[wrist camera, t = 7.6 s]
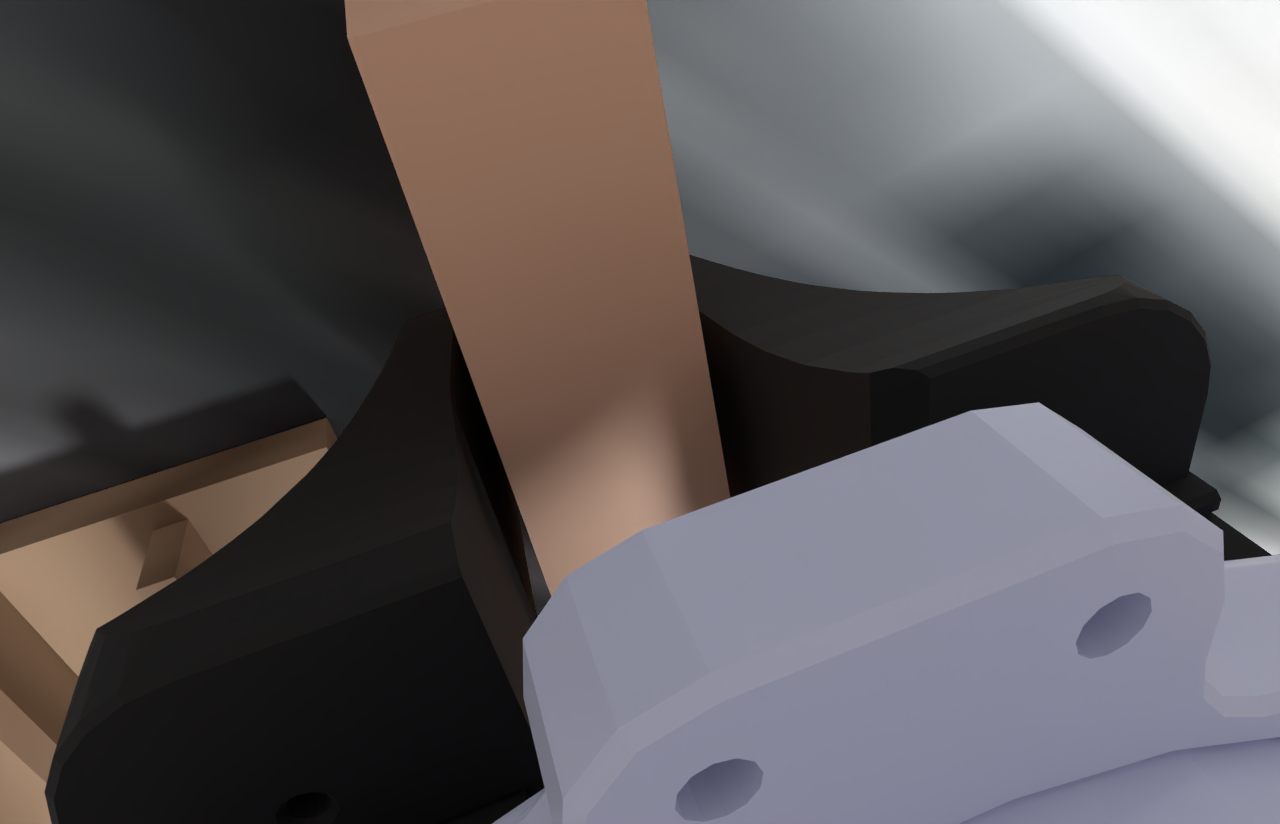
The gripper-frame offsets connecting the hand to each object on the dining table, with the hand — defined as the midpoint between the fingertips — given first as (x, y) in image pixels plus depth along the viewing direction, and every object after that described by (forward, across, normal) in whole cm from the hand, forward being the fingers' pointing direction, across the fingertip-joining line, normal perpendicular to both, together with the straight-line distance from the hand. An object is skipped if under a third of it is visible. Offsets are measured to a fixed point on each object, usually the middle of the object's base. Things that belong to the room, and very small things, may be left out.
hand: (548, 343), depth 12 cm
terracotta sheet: (+4, 0, 0) cm, 4 cm away
